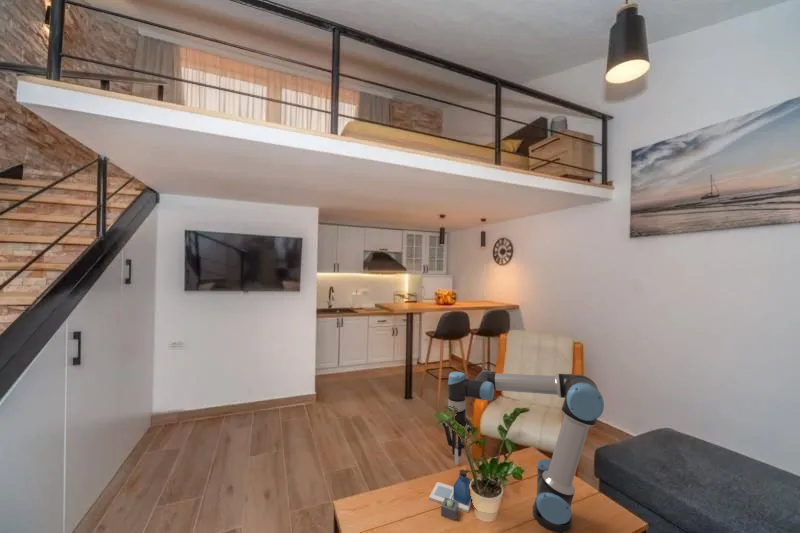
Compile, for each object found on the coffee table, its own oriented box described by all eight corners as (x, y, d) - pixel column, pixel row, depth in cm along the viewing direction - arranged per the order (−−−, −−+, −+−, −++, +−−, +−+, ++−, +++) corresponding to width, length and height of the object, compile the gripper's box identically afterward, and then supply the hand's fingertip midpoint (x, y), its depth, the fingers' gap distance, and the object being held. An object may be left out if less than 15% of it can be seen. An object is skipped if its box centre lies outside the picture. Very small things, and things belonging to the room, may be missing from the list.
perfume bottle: (466, 505, 140) (466, 477, 140) (453, 499, 143) (453, 472, 144) (471, 497, 145) (472, 470, 145) (459, 491, 148) (459, 465, 149)
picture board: (473, 495, 148) (473, 492, 148) (468, 512, 137) (468, 509, 137) (437, 483, 155) (437, 481, 155) (429, 499, 144) (429, 496, 144)
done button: (453, 510, 137) (454, 500, 137) (452, 514, 134) (452, 505, 134) (447, 508, 138) (447, 498, 138) (445, 512, 135) (446, 503, 136)
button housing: (458, 511, 138) (458, 501, 138) (454, 520, 132) (454, 510, 132) (445, 506, 140) (445, 497, 140) (441, 515, 135) (441, 506, 135)
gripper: (473, 407, 141) (473, 461, 140) (444, 402, 146) (444, 454, 145) (470, 414, 134) (470, 471, 133) (440, 409, 139) (440, 463, 138)
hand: (456, 462), depth 139 cm, fingers closed
